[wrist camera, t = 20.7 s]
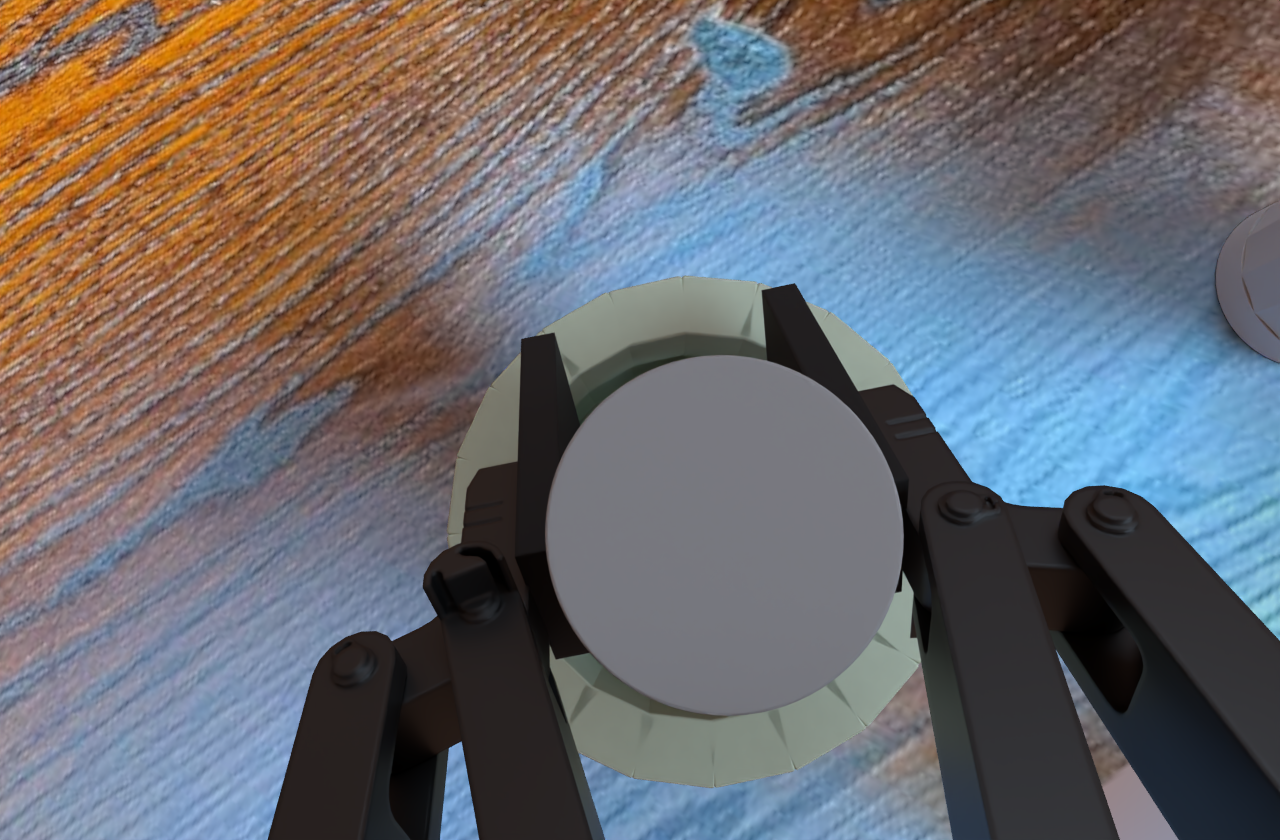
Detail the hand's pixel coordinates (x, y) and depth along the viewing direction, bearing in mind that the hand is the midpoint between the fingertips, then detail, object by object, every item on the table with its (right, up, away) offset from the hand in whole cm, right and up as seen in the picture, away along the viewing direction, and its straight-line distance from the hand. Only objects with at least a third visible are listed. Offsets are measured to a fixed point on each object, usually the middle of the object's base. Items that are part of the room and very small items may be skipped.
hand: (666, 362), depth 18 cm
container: (+1, -5, +7) cm, 8 cm away
